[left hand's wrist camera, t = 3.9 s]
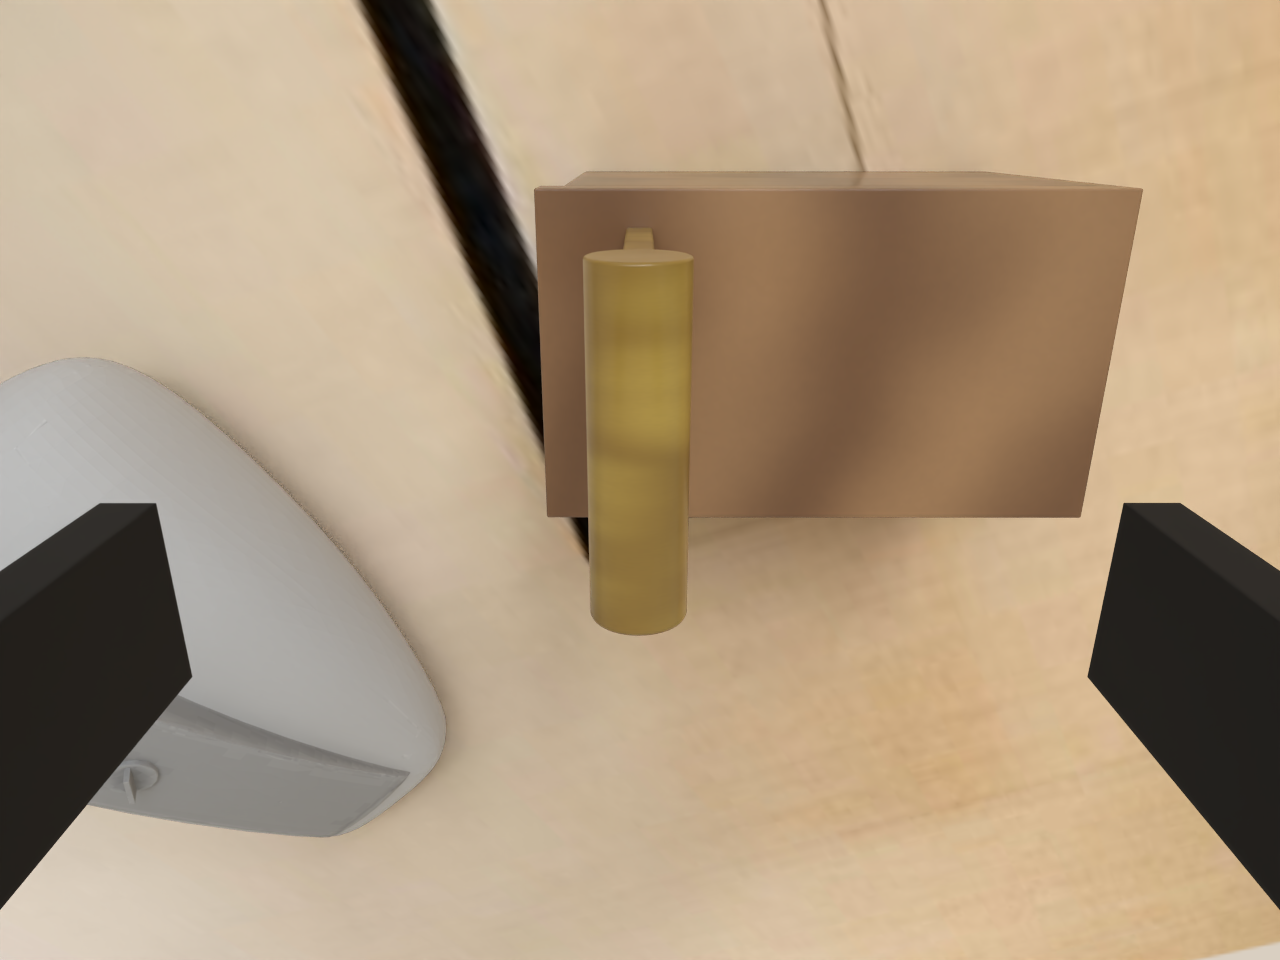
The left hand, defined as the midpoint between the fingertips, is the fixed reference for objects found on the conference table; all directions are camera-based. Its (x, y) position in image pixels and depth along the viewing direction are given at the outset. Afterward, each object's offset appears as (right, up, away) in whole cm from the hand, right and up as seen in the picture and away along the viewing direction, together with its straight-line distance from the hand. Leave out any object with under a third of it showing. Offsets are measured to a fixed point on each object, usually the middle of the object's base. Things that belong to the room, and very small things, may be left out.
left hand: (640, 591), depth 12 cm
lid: (+5, +5, +14) cm, 16 cm away
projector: (-19, -4, +28) cm, 34 cm away
